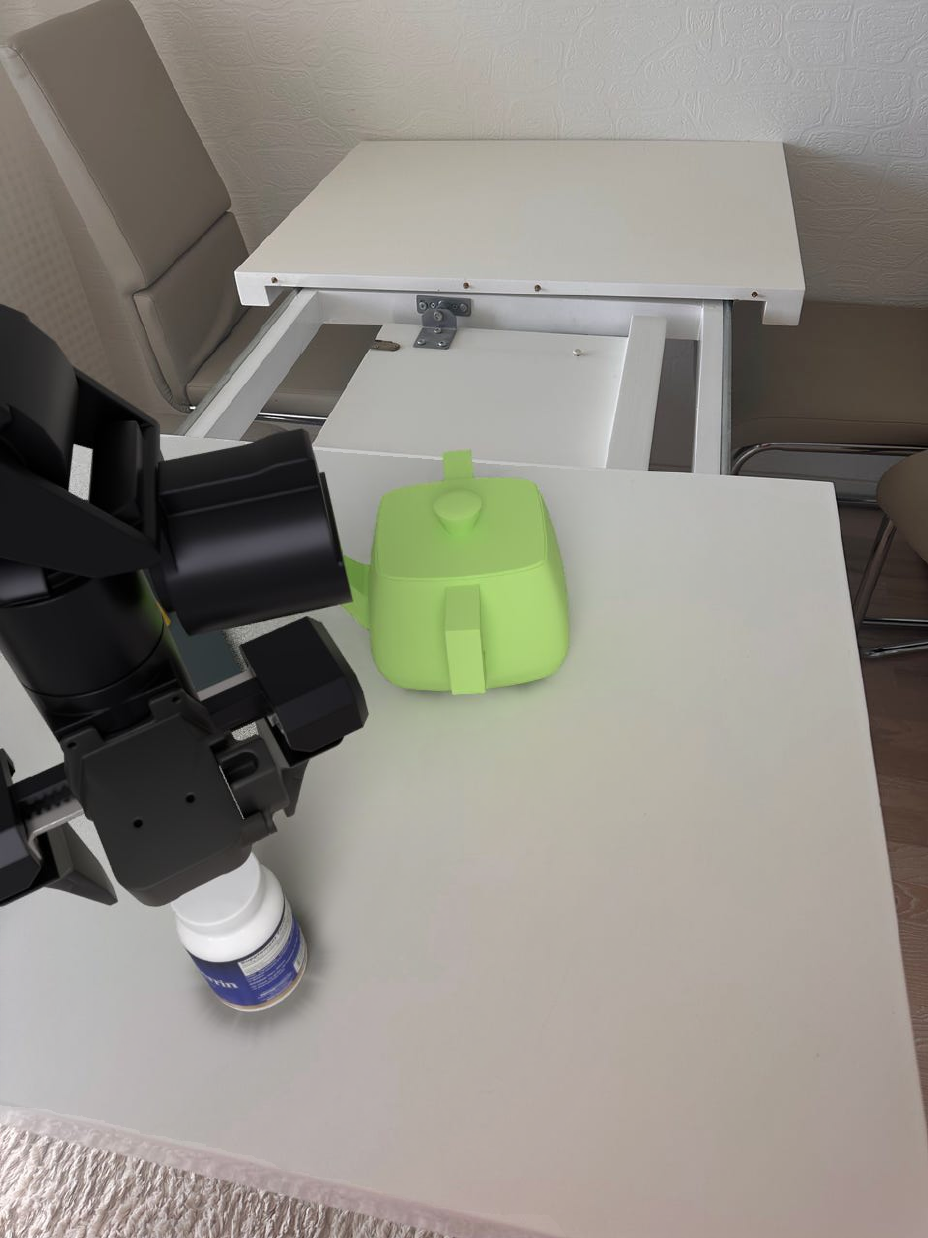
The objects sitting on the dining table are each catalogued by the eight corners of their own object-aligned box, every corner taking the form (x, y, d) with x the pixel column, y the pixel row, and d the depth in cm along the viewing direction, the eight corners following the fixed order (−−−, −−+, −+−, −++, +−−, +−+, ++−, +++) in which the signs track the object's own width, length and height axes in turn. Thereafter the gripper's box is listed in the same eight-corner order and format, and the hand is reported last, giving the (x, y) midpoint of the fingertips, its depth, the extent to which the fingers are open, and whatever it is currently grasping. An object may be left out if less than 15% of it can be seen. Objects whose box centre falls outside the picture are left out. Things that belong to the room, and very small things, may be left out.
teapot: (313, 756, 65) (269, 624, 56) (333, 560, 79) (301, 428, 70) (582, 737, 64) (584, 600, 55) (555, 542, 78) (552, 407, 69)
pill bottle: (191, 970, 55) (134, 884, 48) (267, 900, 58) (224, 810, 50) (252, 1037, 52) (201, 956, 45) (330, 960, 55) (293, 873, 48)
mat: (124, 726, 68) (122, 721, 68) (62, 555, 82) (60, 550, 82) (242, 675, 71) (240, 670, 70) (163, 517, 85) (161, 512, 84)
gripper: (-155, 929, 29) (49, 1103, 40) (399, 671, 34) (441, 888, 45) (-175, 690, 36) (3, 894, 47) (285, 508, 41) (346, 730, 52)
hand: (202, 852), depth 47 cm, fingers open, 9 cm apart
